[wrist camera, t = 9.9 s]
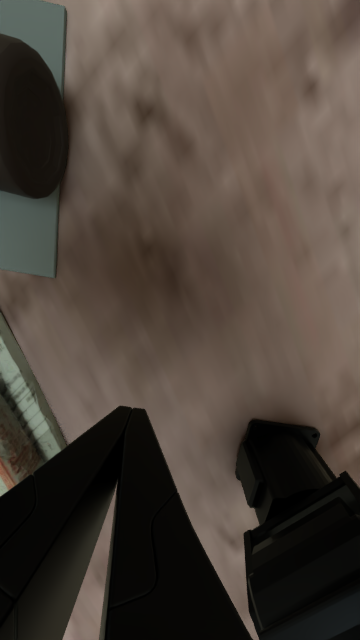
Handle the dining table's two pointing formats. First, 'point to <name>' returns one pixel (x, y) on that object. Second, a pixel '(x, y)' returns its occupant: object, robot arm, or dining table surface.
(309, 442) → the robot arm
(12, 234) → the mat
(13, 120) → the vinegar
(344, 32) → the dining table surface
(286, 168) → the dining table surface
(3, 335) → the packaged product
